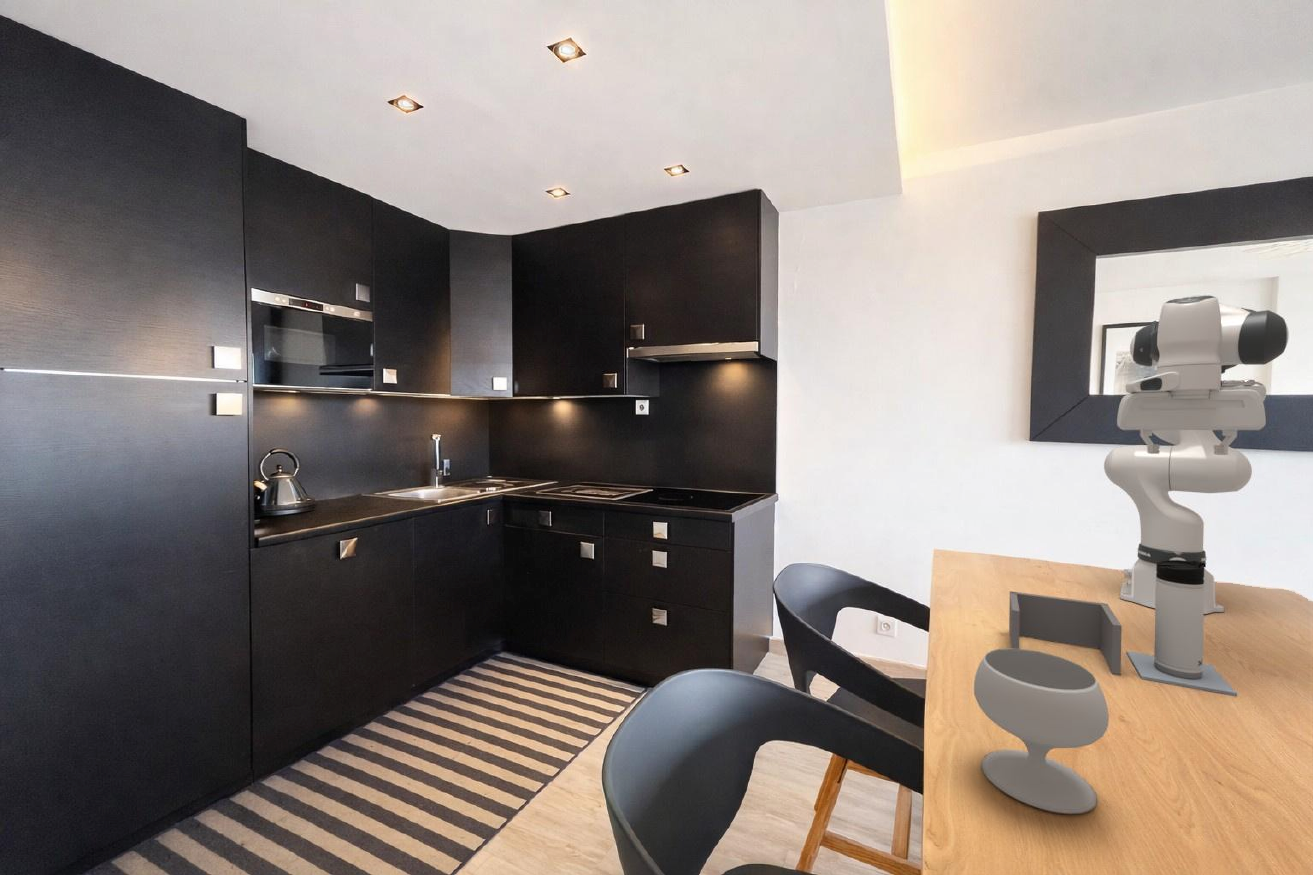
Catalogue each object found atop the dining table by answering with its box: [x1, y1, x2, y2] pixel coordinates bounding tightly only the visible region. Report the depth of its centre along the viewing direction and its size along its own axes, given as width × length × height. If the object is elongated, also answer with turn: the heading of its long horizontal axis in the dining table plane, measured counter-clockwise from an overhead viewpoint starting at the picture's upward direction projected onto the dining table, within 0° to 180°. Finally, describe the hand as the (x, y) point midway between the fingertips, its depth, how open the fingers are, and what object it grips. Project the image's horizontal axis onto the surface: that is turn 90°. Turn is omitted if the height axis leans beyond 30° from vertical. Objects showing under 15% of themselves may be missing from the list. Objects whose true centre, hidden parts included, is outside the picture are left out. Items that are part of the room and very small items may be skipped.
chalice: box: [973, 647, 1110, 815], centre depth 69 cm, size 14×14×15 cm
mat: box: [1126, 650, 1238, 697], centre depth 98 cm, size 12×12×1 cm
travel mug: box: [1153, 560, 1207, 679], centre depth 97 cm, size 6×7×20 cm
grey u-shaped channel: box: [1008, 590, 1123, 676], centre depth 107 cm, size 13×16×9 cm
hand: (1186, 454), depth 103 cm, fingers open, 8 cm apart
